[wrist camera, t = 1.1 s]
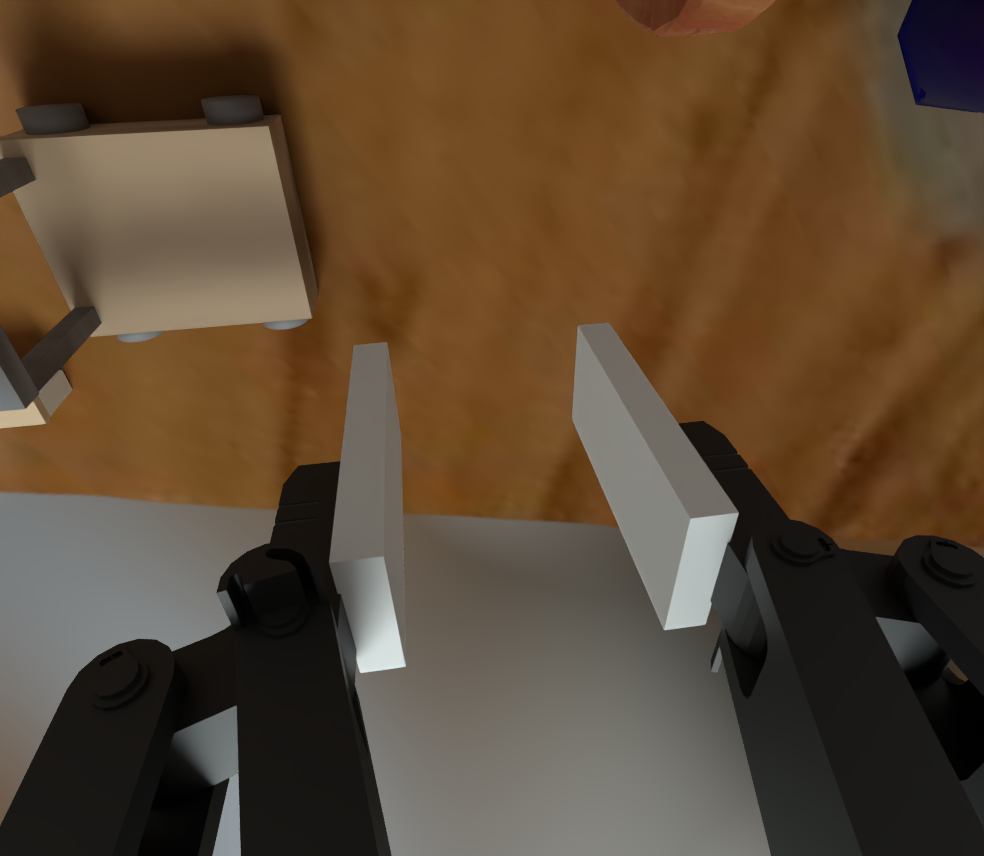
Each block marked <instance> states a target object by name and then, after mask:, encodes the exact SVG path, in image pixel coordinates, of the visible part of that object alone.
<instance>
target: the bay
mask: <svg viewBox="0 0 984 856" xmlns="http://www.w3.org/2000/svg"><path fill="white" fill-rule="evenodd" d="M72 390H73V389H72V388H71V386H70V384H69V382H68V380H67V378H66V376H65V374H64V372H63V370H58V371H57V373H56V374H55V375H54V376H53V377H52V378H51V379H50V380H49V381H48V382H47V383H46V384H45V386H44V387H43V388H42V389H41V390H40V391H39V393H40V394H39V395H38V396H37V397H36V398H35V399H34V401H33V402H32V403H31V404H30V405H29V406H28V407H27V408H26V409H21V410H10V411H0V428H8V427H18V426H29V425H39V424H47V422H48V421H49V420H50V419H51V417H50V416H51V415H52V414H53V412H54V411H55V410H56V409H57V408H58V406H59V405H60V404H61V403H62V402H63V400H64V399H65V398H66V397H67V396H68V394H69V393H70V392H71V391H72Z"/></svg>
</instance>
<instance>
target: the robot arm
mask: <svg viewBox="0 0 984 856" xmlns="http://www.w3.org/2000/svg"><path fill="white" fill-rule="evenodd" d="M572 420H573V422H574V425H575V427H576V429H577V431H578V434H579V436H580V438H581V441H582V443H583V445H584V448H585V450H586V452H587V454H588V457H589V459H590V461H591V464H592V466H593V468H594V471H595V473H596V475H597V477H598V480H599V482H600V484H601V487H602V489H603V491H604V493H605V496H606V498H607V500H608V503H609V505H610V507H611V510H612V512H613V514H614V516H615V519H616V521H617V523H618V526H619V528H620V530H621V533H622V535H623V537H624V539H625V542H626V544H627V546H628V549H629V551H630V553H631V555H632V558H633V560H634V562H635V565H636V567H637V569H638V572H639V574H640V576H641V578H642V581H643V583H644V585H645V588H646V590H647V592H648V595H649V597H650V599H651V601H652V604H653V606H654V608H655V611H656V613H657V615H658V617H659V620H660V622H661V624H662V627H663V629H664V630H669V629H677V628H684V627H691V626H698V625H705V624H706V621H707V617H708V614H709V610H710V607H711V604H712V605H713V606H714V608H715V610H716V612H717V614H718V616H719V618H720V619H721V622H722V623H723V625H722V628H721V631H720V634H719V637H718V640H717V643H716V646H715V649H714V652H713V655H712V658H711V672H718V669H719V666H720V663H721V660H722V659H723V663H724V667H725V671H726V675H727V679H728V683H729V687H730V691H731V695H732V699H733V703H734V707H735V711H736V716H737V720H738V724H739V728H740V732H741V735H742V739H743V744H744V748H745V752H746V755H747V760H748V764H749V768H750V772H751V776H752V780H753V784H754V788H755V792H756V796H757V800H758V804H759V808H760V812H761V816H762V820H763V824H764V828H765V832H766V836H767V840H768V844H769V849H770V853H771V856H984V558H983V557H982V556H980V555H979V554H978V553H976V552H975V551H974V550H972V549H970V548H968V547H966V546H964V545H961V544H959V543H957V542H955V541H953V540H949V539H945V538H941V537H937V536H922V535H916V536H913V537H911V538H908V539H905V540H904V541H903V542H902V543H901V545H900V546H899V548H898V549H897V551H896V553H895V555H894V556H889V555H881V554H874V553H866V552H858V551H850V550H845V549H840V548H839V547H838V546H837V544H836V543H835V542H834V541H833V539H832V538H830V537H829V536H828V535H826V534H825V533H824V532H822V531H821V530H819V529H818V528H816V527H813V526H811V525H808V524H806V523H804V522H801V521H796V520H790V519H789V518H788V516H787V515H786V514H785V513H784V511H783V510H782V509H781V507H780V506H779V505H778V504H777V502H776V501H775V500H774V498H773V497H772V496H771V495H770V493H769V492H768V491H767V489H766V488H765V487H764V485H763V484H762V483H761V482H760V480H759V479H758V478H757V476H756V475H755V474H754V473H753V471H752V470H751V469H748V465H747V464H746V462H745V461H744V460H743V458H742V457H741V456H740V455H737V451H736V449H735V448H734V447H733V445H732V444H731V443H730V442H729V440H728V439H727V438H726V436H725V435H724V434H722V433H721V432H719V431H718V430H716V429H715V428H713V427H712V426H710V425H709V424H707V423H705V422H704V421H698V422H689V423H679V424H678V423H677V421H676V420H675V419H674V417H673V416H672V414H671V413H670V411H669V410H668V408H667V407H666V405H665V404H664V403H663V401H662V400H661V398H660V397H659V395H658V394H657V392H656V391H655V389H654V388H653V386H652V385H651V384H650V382H649V381H648V379H647V378H646V376H645V375H644V373H643V372H642V370H641V369H640V367H639V366H638V365H637V363H636V362H635V360H634V359H633V357H632V356H631V354H630V353H629V351H628V350H627V348H626V347H625V346H624V344H623V343H622V341H621V340H620V338H619V337H618V335H617V334H616V332H615V331H614V330H613V328H612V327H611V325H610V324H609V323H599V324H588V325H578V332H577V348H576V364H575V380H574V396H573V412H572ZM403 558H404V556H403V503H402V453H401V432H400V425H399V419H398V412H397V405H396V399H395V392H394V385H393V379H392V372H391V365H390V358H389V352H388V345H387V342H385V343H373V344H362V345H354V349H353V358H352V366H351V375H350V384H349V393H348V401H347V410H346V419H345V428H344V436H343V445H342V454H341V461H339V462H329V463H320V464H310V465H301V466H298V467H297V468H296V469H295V471H294V472H293V473H292V474H291V476H290V477H289V478H288V479H287V481H286V482H285V483H284V484H283V488H282V493H281V497H280V502H279V509H278V510H277V515H276V519H275V526H274V528H273V532H272V537H271V541H270V543H269V544H264V545H262V546H260V547H257V548H255V549H252V550H250V551H247V552H246V553H245V554H244V555H242V556H241V557H239V558H238V559H237V560H235V561H234V562H232V563H231V564H230V566H229V567H228V569H227V570H226V571H225V573H224V574H223V575H222V576H221V578H220V582H219V586H218V589H217V595H218V597H219V599H220V601H221V603H222V606H223V608H224V610H225V612H226V614H227V616H228V618H229V620H230V622H231V625H230V626H229V627H227V628H226V629H224V630H222V631H220V632H218V633H216V634H214V635H212V636H210V637H208V638H205V639H202V640H200V641H197V642H195V643H193V644H190V645H187V646H185V647H182V648H180V649H178V650H175V651H171V649H170V648H169V647H168V646H167V645H165V644H163V643H161V642H159V641H158V640H152V639H136V640H133V641H129V642H125V643H121V644H118V645H116V646H114V647H112V648H111V649H109V650H107V651H105V652H103V653H101V654H100V655H98V656H97V657H95V658H94V659H93V660H92V661H91V662H90V663H89V664H88V665H86V666H85V667H84V668H83V669H82V670H81V671H79V673H78V674H77V676H76V677H75V679H74V680H73V682H72V683H71V684H70V686H69V687H68V689H67V691H66V693H65V695H64V697H63V699H62V701H61V703H60V705H59V707H58V709H57V711H56V713H55V715H54V717H53V719H52V721H51V723H50V725H49V728H48V729H47V731H46V733H45V736H44V737H43V740H42V742H41V744H40V746H39V748H38V750H37V752H36V754H35V756H34V758H33V760H32V762H31V764H30V766H29V768H28V770H27V772H26V774H25V776H24V779H23V780H22V783H21V785H20V787H19V789H18V791H17V793H16V795H15V797H14V799H13V801H12V804H11V805H10V807H9V809H8V811H7V813H6V815H5V817H4V820H3V821H2V823H1V826H0V856H212V854H213V850H214V846H215V841H216V837H217V832H218V827H219V823H220V818H221V814H222V809H223V805H224V800H225V796H226V792H227V787H228V782H229V778H230V777H232V776H234V775H236V774H238V773H239V802H240V803H239V805H240V840H241V856H391V851H390V846H389V842H388V836H387V832H386V827H385V822H384V817H383V812H382V808H381V803H380V798H379V793H378V788H377V784H376V779H375V774H374V769H373V764H372V759H371V754H370V750H369V745H368V740H367V735H366V730H365V726H364V721H363V716H362V711H361V706H360V701H359V698H358V694H357V691H356V687H355V671H356V660H357V663H358V667H359V670H360V673H364V672H371V671H378V670H385V669H392V668H400V667H405V666H406V655H405V606H404V559H403ZM952 661H953V662H954V663H955V664H956V665H957V666H958V668H959V669H960V670H961V671H962V672H963V673H964V674H965V676H966V677H967V678H968V680H967V681H966V682H965V681H963V680H961V679H959V678H958V677H957V676H956V675H955V674H954V673H953V672H952V671H951V670H950V669H949V668H948V666H949V665H950V664H951V662H952Z"/></svg>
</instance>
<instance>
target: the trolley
mask: <svg viewBox="0 0 984 856" xmlns="http://www.w3.org/2000/svg"><path fill="white" fill-rule="evenodd" d="M201 103H202V107H203V110H204V114H205V117H206V118H202V119H182V120H163V121H143V122H124V123H104V124H89V122H88V120H87V117H86V115H85V112H84V110H83V107H82V104H80V103H58V104H45V105H36V106H29V107H23V108H19V109H16V112H17V115H18V117H19V119H20V121H21V124H22V126H23V128H24V129H23V130H20V131H17V132H14V133H11V134H8V135H5V136H2V137H0V197H2V196H4V195H6V194H8V193H10V192H12V191H13V192H14V194H15V196H16V198H17V200H18V203H19V205H20V207H21V209H22V211H23V213H24V215H25V217H26V219H27V221H28V223H29V225H30V227H31V229H32V231H33V233H34V236H35V238H36V240H37V242H38V244H39V246H40V248H41V250H42V252H43V254H44V256H45V258H46V260H47V262H48V264H49V266H50V269H51V271H52V273H53V275H54V277H55V279H56V281H57V283H58V285H59V287H60V289H61V291H62V293H63V295H64V297H65V299H66V302H67V304H68V306H69V308H70V310H71V312H70V313H69V314H68V315H67V316H66V317H64V318H63V319H62V320H61V321H60V322H59V323H58V324H57V325H56V326H55V327H54V328H53V329H52V330H51V331H50V332H49V333H48V334H47V335H45V336H44V337H43V338H42V339H41V340H40V341H39V342H38V343H37V344H36V345H35V346H34V347H33V348H32V349H31V350H30V351H29V352H28V353H26V354H25V355H24V356H23V357H22V358H21V359H20V358H19V357H18V355H17V353H16V351H15V350H14V348H13V346H12V344H11V343H10V341H9V339H8V337H7V336H6V334H5V332H4V330H3V329H2V327H1V325H0V411H10V410H21V409H26V408H27V407H28V406H29V405H30V404H31V403H32V402H33V401H34V399H35V398H36V397H37V396H38V395H39V394H40V393H39V391H40V390H41V389H42V388H43V387H44V386H45V384H46V383H47V382H48V381H49V380H50V379H51V378H52V377H53V376H54V375H55V374H56V373H57V371H58V370H59V369H60V368H61V367H62V366H63V365H64V364H65V363H66V362H67V361H68V359H69V358H70V357H71V356H72V355H73V354H74V353H75V352H76V351H77V350H78V349H79V347H80V346H81V345H82V344H83V343H84V342H85V341H86V340H87V339H88V338H89V337H94V336H106V335H116V336H117V338H118V339H119V340H120V341H123V342H139V341H144V340H148V339H151V338H154V337H156V336H158V335H160V334H162V333H163V332H165V331H166V330H178V329H190V328H202V327H214V326H226V325H238V324H250V323H262V322H263V324H264V326H265V327H267V328H270V329H277V330H281V329H289V328H294V327H297V326H300V325H302V324H304V323H305V322H306V321H307V320H308V319H310V318H312V316H313V312H314V308H315V305H316V301H317V297H318V293H319V292H318V287H317V283H316V278H315V273H314V269H313V264H312V259H311V254H310V250H309V245H308V240H307V236H306V231H305V226H304V222H303V217H302V212H301V208H300V203H299V198H298V193H297V189H296V184H295V179H294V175H293V170H292V165H291V161H290V156H289V151H288V147H287V142H286V137H285V132H284V128H283V123H282V118H281V114H280V115H263V111H262V107H261V103H260V98H259V96H258V95H228V96H218V97H211V98H205V99H202V100H201Z"/></svg>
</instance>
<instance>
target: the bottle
mask: <svg viewBox="0 0 984 856" xmlns="http://www.w3.org/2000/svg"><path fill="white" fill-rule="evenodd" d="M898 39H899V43H900V47H901V50H902V54H903V58H904V62H905V65H906V69H907V73H908V77H909V80H910V84H911V88H912V91H913V95H914V99H915V103H916V105H923V106H931V107H938V108H946V109H954V110H961V111H969V112H981V113H984V0H913V1H912V3H911V5H910V8H909V10H908V12H907V15H906V17H905V19H904V22H903V24H902V27H901V29H900V31H899V34H898Z"/></svg>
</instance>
